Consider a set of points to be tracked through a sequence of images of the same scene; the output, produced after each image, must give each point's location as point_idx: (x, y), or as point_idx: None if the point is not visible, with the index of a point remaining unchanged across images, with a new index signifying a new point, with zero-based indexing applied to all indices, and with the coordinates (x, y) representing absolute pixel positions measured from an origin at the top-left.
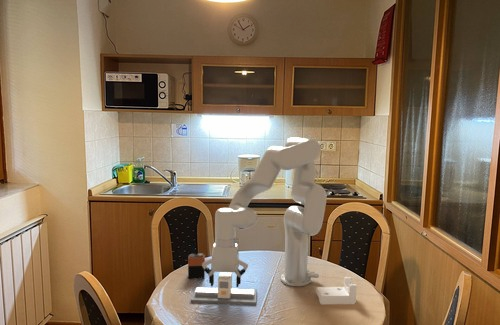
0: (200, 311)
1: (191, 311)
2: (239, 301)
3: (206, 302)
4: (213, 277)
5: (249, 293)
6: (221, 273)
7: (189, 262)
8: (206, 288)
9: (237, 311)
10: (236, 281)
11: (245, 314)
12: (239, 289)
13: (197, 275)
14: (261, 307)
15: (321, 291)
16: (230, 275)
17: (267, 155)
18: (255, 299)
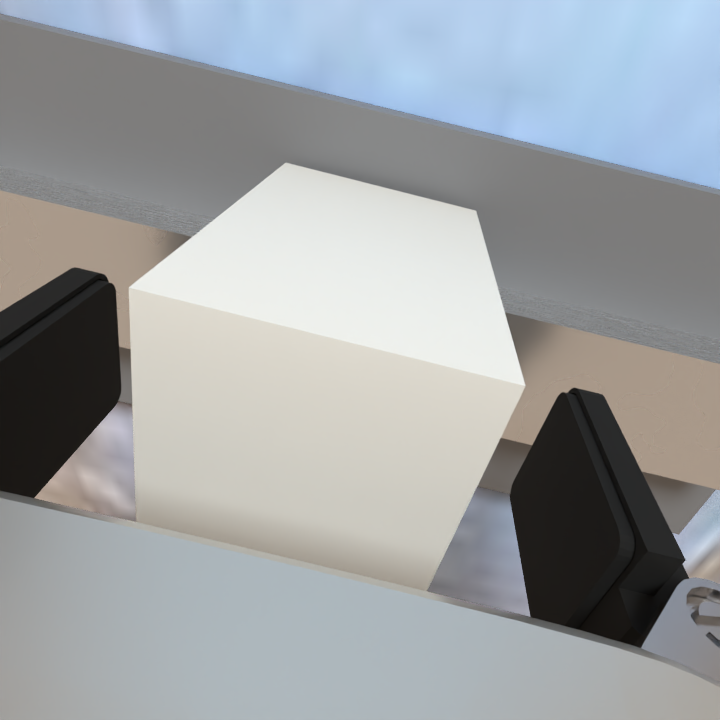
0: (124, 500)
1: (48, 486)
2: (499, 491)
3: None
4: (34, 390)
5: (679, 472)
6: (182, 422)
7: None
8: (49, 221)
9: (443, 558)
10: (525, 579)
11: (500, 601)
12: (582, 342)
13: None
14: (698, 553)
15: None
16: (422, 562)
17: None
18: (706, 490)
